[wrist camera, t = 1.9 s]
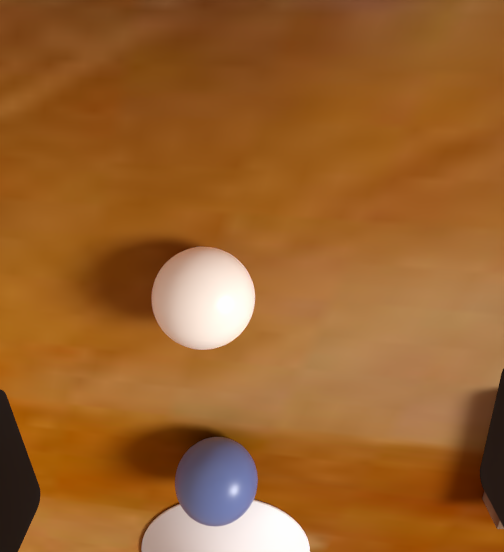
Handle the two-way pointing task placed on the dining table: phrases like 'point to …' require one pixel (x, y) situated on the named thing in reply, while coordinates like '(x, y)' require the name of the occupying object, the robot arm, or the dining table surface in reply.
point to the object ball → (216, 481)
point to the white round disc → (226, 532)
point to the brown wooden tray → (492, 512)
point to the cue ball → (203, 298)
